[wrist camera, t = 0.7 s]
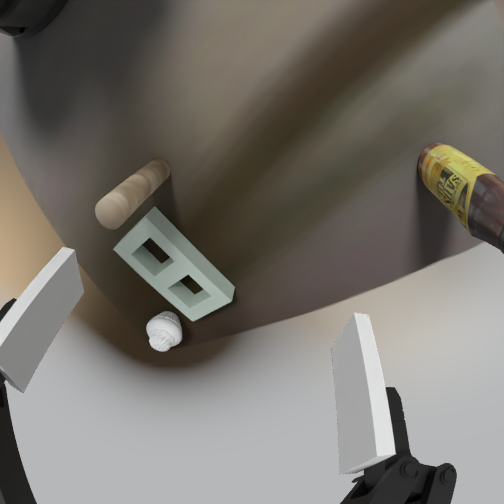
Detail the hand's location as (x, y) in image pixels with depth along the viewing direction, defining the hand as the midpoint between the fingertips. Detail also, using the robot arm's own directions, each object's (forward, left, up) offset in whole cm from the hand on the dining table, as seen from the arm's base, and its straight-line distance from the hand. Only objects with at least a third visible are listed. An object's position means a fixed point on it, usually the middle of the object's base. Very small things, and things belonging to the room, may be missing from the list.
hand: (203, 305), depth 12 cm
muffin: (+12, -28, -23) cm, 38 cm away
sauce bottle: (+13, +19, -23) cm, 32 cm away
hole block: (+5, -17, -22) cm, 29 cm away
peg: (-6, -9, -23) cm, 25 cm away
